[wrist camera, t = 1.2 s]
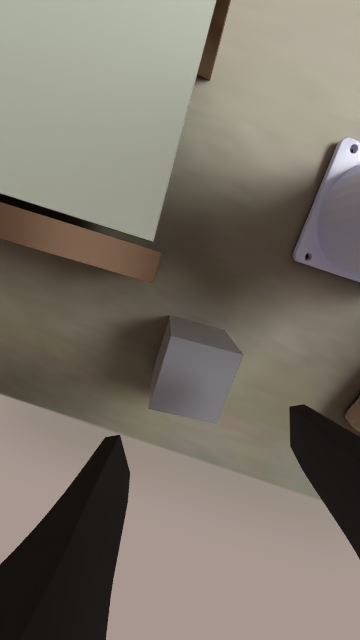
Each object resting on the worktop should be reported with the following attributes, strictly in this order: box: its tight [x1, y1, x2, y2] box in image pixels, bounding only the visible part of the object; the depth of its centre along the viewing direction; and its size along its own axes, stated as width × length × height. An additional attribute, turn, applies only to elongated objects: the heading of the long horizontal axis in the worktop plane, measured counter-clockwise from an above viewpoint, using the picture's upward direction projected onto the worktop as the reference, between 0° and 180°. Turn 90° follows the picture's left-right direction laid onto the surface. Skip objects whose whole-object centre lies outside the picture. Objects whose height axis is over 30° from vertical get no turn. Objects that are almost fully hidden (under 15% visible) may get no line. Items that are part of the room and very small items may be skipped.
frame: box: [0, 0, 231, 283], centre depth 12 cm, size 14×14×6 cm
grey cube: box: [149, 315, 243, 423], centre depth 17 cm, size 4×5×5 cm
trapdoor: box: [0, 0, 216, 242], centre depth 9 cm, size 12×10×2 cm
